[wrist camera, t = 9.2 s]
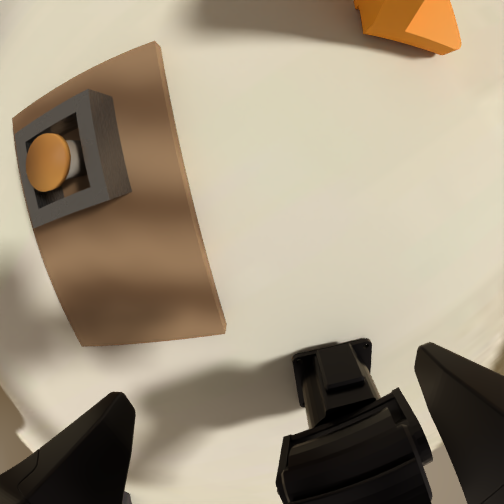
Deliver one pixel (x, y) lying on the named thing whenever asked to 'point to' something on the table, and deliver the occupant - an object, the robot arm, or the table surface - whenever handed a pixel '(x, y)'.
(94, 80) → the board
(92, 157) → the grey square frame
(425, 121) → the table surface
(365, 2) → the bracket
